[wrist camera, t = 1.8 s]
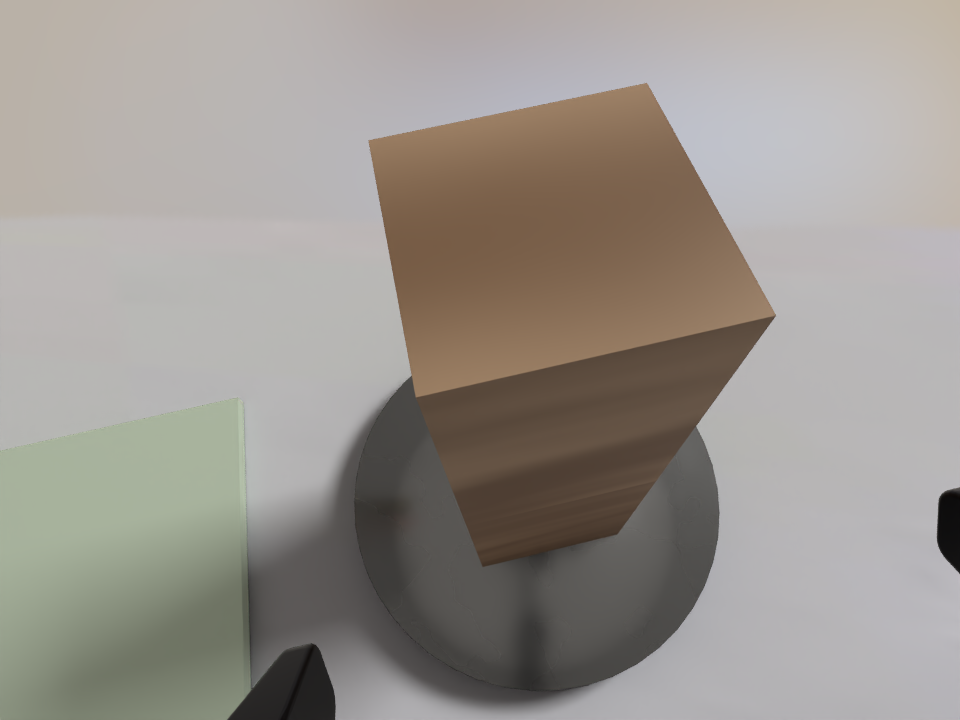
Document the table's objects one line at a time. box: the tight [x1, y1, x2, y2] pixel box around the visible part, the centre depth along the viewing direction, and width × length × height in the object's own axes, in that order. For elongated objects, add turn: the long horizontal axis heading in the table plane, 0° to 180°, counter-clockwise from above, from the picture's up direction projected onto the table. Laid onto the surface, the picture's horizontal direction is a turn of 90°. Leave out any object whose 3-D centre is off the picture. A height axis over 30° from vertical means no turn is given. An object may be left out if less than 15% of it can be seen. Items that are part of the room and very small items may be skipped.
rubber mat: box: [0, 398, 251, 720], centre depth 19 cm, size 12×10×1 cm
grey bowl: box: [354, 376, 719, 691], centre depth 18 cm, size 12×12×5 cm
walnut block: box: [369, 83, 776, 567], centre depth 14 cm, size 4×4×13 cm
